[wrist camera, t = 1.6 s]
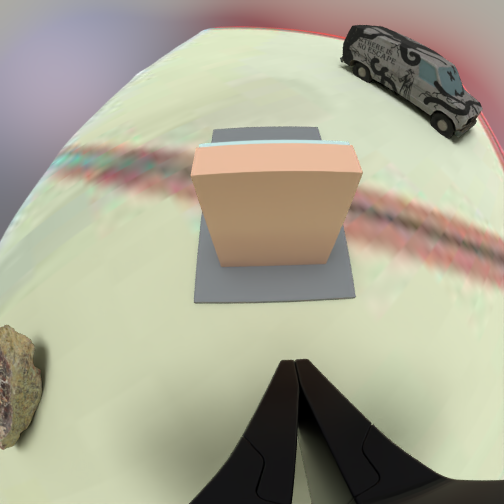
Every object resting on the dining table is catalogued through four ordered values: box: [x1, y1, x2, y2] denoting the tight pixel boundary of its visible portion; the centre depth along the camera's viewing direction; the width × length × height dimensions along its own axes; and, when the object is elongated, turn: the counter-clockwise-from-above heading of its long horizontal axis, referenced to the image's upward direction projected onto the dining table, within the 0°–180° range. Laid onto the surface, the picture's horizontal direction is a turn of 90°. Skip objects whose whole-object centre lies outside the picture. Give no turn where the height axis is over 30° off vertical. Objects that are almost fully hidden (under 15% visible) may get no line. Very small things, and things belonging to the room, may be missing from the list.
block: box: [191, 140, 363, 267], centre depth 17 cm, size 2×8×10 cm, turn 90°
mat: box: [194, 127, 356, 303], centre depth 24 cm, size 20×12×1 cm, turn 0°
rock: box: [0, 325, 42, 450], centre depth 13 cm, size 7×11×10 cm
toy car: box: [340, 25, 482, 138], centre depth 30 cm, size 11×25×10 cm, turn 34°
